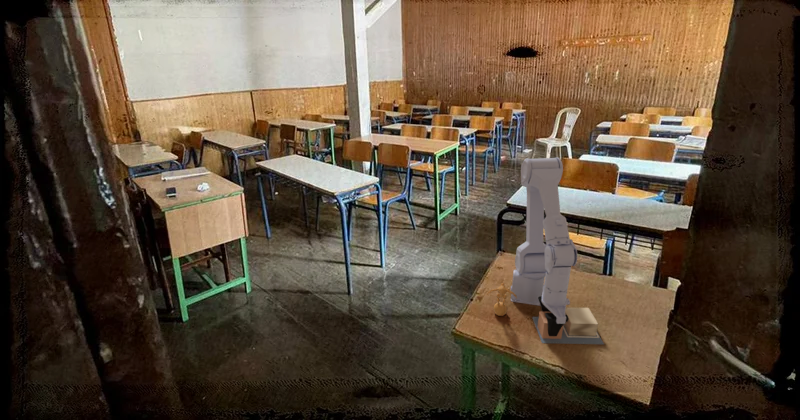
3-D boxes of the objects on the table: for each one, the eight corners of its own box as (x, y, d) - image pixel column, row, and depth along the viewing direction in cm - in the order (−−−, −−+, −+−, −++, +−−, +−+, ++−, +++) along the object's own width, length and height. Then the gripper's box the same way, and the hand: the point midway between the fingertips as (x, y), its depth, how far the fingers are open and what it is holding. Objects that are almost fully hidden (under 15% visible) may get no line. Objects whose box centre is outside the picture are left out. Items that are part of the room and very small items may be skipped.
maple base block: (569, 335, 112) (571, 323, 110) (561, 319, 118) (563, 307, 117) (595, 335, 111) (598, 323, 110) (586, 319, 118) (588, 307, 116)
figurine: (514, 312, 122) (518, 277, 118) (514, 325, 117) (518, 289, 112) (485, 308, 124) (488, 274, 119) (484, 321, 119) (487, 285, 114)
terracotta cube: (542, 338, 111) (544, 323, 109) (537, 326, 116) (539, 311, 114) (561, 338, 111) (563, 323, 109) (555, 326, 115) (558, 311, 113)
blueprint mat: (541, 344, 110) (542, 342, 109) (531, 317, 120) (532, 316, 119) (604, 345, 109) (604, 344, 108) (588, 318, 119) (589, 317, 119)
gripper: (581, 302, 100) (573, 347, 106) (563, 271, 114) (556, 312, 119) (551, 302, 101) (545, 346, 106) (537, 271, 114) (531, 311, 120)
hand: (549, 328), depth 113 cm, fingers closed on terracotta cube, 5 cm apart
